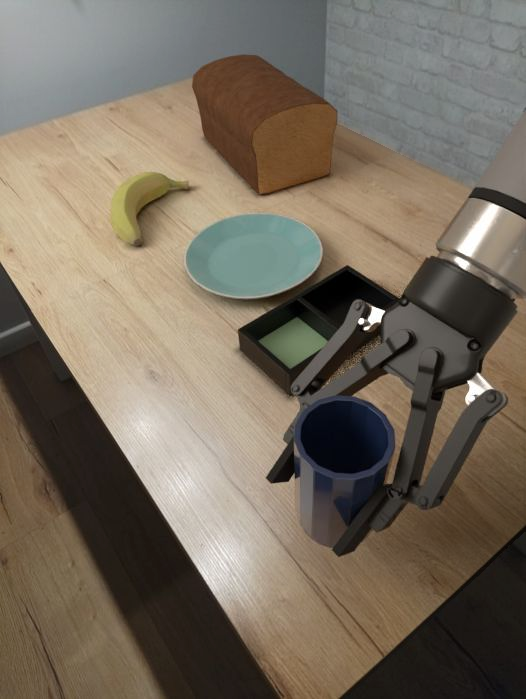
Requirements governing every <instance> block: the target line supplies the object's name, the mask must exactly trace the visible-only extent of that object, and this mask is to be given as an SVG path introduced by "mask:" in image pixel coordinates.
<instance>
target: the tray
mask: <svg viewBox="0 0 526 699" xmlns="http://www.w3.org/2000/svg"><path fill="white" fill-rule="evenodd" d="M400 298H401V297H398V296H397V295H395V294H393V293H392V292H391V291H390V290H387V289H386V288H385V287H383V286H381V285H380V284H378V283H376V282H375V281H373V280H372V279H370V278H369V277H367V276H366V275H364V274H363V273H361V272H359V271H358V270H356V269H355V268H353V267H351V266H350V265H348V264H347V265H345V266H343V267H341V268H339V269H338V270H336V271H334V272H332V273H331V274H329V275H327V276H326V277H324V278H322V279H321V280H319V281H317V282H315V283H314V284H312V285H311V286H309V287H307V288H306V289H304V290H302V291H301V292H298V293H297V294H295V295H294V296H292V297H290V298H288V299H287V300H285V301H284V302H282V303H280V304H278V305H277V306H275V307H274V308H272V309H270V310H268V311H267V312H265V313H263V314H261V315H260V316H258V317H257V318H254V319H252V320H251V321H249V322H248V323H246V324H245V325H243V326H241V327H239V328H237V335H238V336H237V337H238V343H239V344H238V345H239V351H240V352H241V353H243V355H244V356H245V357H247V358H248V359H249V360H250V361H251V362H252V363H253V364H254V365H255V366H256V367H257V368H259V370H261V371H262V372H263V373H264V374H265V375H266V376H267V377H269V379H271V380H272V381H273V382H274V383H275V384H276V385H277V386H278V387H279V388H280V389H281V390H282V391H284V393H286V395H288V396H289V397H291V396H292V395H293V394H292V392H291V389H290V388H291V385H292V383H293V382H294V381H295V380H296V379H297V377H298V376H299V375H300V374H301V373H302V372H303V370H304V369H305V368H306V367H307V366H308V365H309V363H310V362H311V361H312V360H313V359H314V357H315V356H316V355H317V354H318V353H319V352H320V350H321V349H322V348H323V347H324V346H325V345H326V343H327V342H328V341H329V340H330V339H331V338H332V336H333V335H334V334H335V333H336V332H337V330H338V329H339V328H340V327H341V326H342V325H343V323H344V321H345V319H346V317H347V314H348V312H349V310H350V307H351V305H352V303H353V302H354V301H355V300H357V299H360V300H363V301H365V302H367V303H369V304H371V305H373V306H374V307H376V308H378V309H381V310H383V311H386V310H387V309H389V308H391V307H392V306H394V305H395V304H396V303H397V302H398V301H399V300H400ZM379 336H380V325H378V326H377V327H376V329H375V330H374V331H372V332H368V334H367V336H366V337H365V339H364V340H363V341H362V342H361V343H360V345H359V346H358V347H357V348H356V349H355V350H354V351H353V353H352V354H354V353H355V352H356V351H358V350H360V349H361V348H363V347H364V346H365V345H367V344H368V343H370V342H371V341H373V340H375V338H377V337H379ZM293 396H294V395H293Z"/></svg>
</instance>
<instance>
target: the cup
mask: <svg viewBox="0 0 526 699" xmlns="http://www.w3.org/2000/svg"><path fill="white" fill-rule="evenodd" d="M395 435H396V434H395V429H394V427H393V425H392V423H391V422H390V420H389V418H388V416H387V415H386V413H385V412H383V411H382V410H381V409H379V408H378V407H377V406H376V405H375V404H373V403H372V402H370V401H367V400H365V399H363V398H359V397H357V396H354V395H352V396H340V395H334V396H330V397H327V398H323V399H319V400H317V401H315V402H314V403H313V404H311V405H310V406H308V407H307V408H305V409H304V410H303V412H302V413H301V415H300V417H299V418H298V420H297V422H296V423H295V431H294V474H293V476H294V510H295V515H296V519H297V522H298V524H299V526H300V528H301V529H302V531H303V532H304V533H305V535H307V536H308V537H309V538H310V540H312V541H313V542H315V543H317V544H318V545H321V546H323V547H326V548H329V549H333V547H334V546H335V545H336V543H337V542H338V540H339V539H340V538H341V536H342V535H343V534H344V532H345V531H346V530H347V528H348V527H349V526H350V524H351V523H352V521H353V520H354V519H355V517H356V516H357V515H358V513H359V512H360V511H361V509H362V508H363V507H364V505H365V504H366V503H367V501H368V500H369V498H370V497H371V496H372V495H373V493H374V492H375V491H376V489H377V488H378V486H379V485H385V484H388V479H389V474H390V470H391V467H392V462H393V458H394V454H395V450H396V436H395ZM373 532H374V530H373V529H372V528H371V530H370V531H369V532H368V534H367V535H366V536H365V538H364V539H363V540H362V542H361V543H363V542H364V541H366V540H367V539H368V538H369V537H370V535H371V534H372V533H373Z"/></svg>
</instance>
